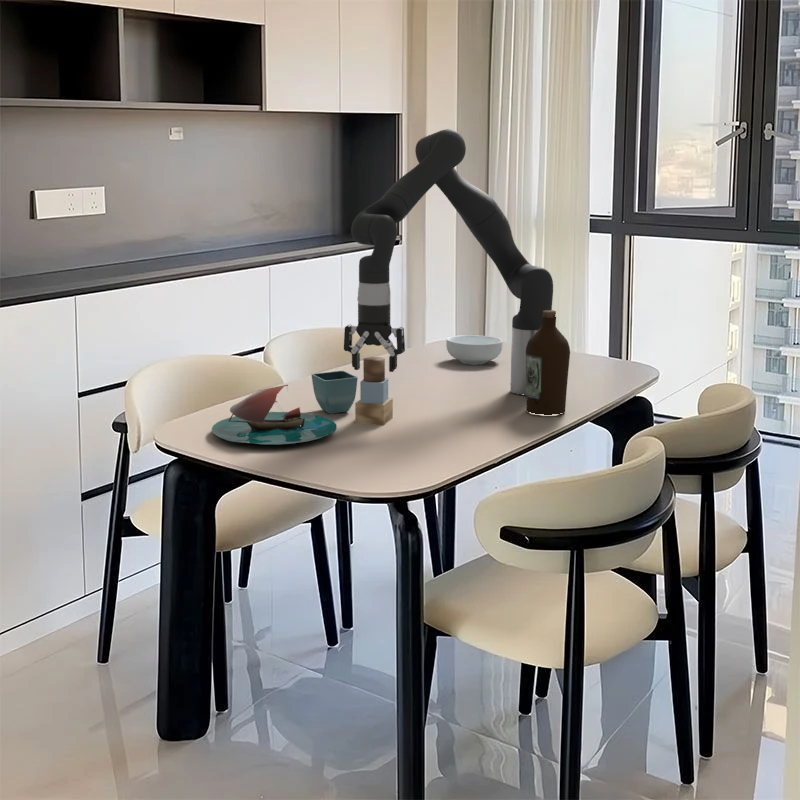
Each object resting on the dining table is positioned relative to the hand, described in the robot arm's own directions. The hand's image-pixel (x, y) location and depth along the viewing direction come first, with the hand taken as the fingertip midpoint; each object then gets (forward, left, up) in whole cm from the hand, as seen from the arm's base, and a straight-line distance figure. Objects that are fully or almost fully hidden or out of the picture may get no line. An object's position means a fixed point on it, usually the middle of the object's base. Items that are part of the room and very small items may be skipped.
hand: (374, 370), depth 258 cm
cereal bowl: (-8, -75, -12) cm, 76 cm away
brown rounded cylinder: (0, 0, -2) cm, 2 cm away
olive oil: (-38, -20, -12) cm, 44 cm away
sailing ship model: (+18, +18, -12) cm, 28 cm away
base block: (0, 0, -12) cm, 12 cm away
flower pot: (+12, -6, -12) cm, 18 cm away
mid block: (0, 0, -7) cm, 7 cm away
